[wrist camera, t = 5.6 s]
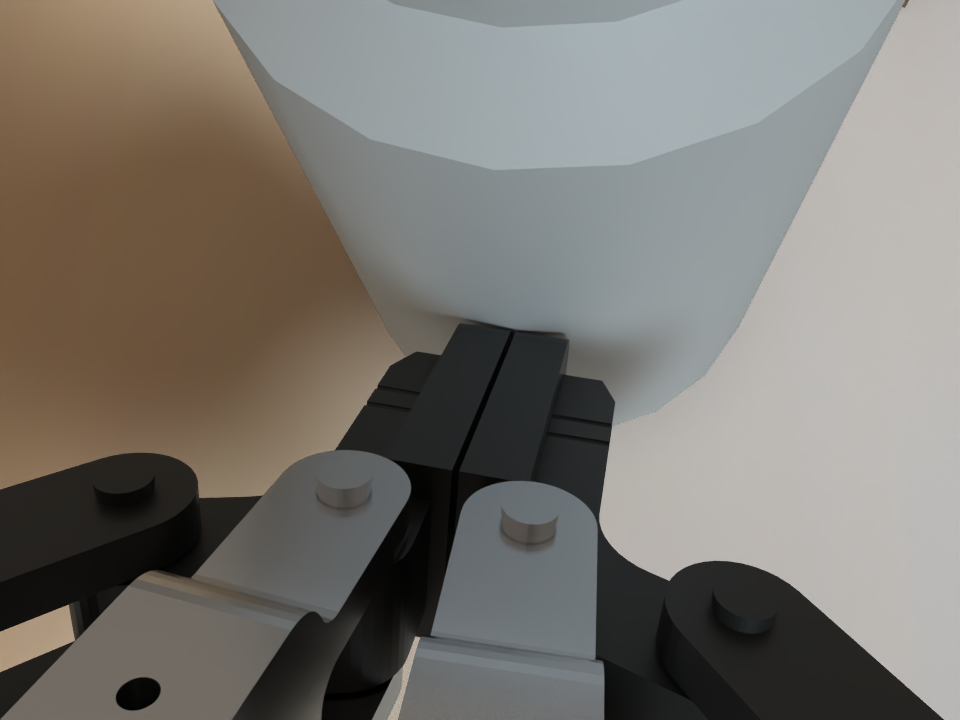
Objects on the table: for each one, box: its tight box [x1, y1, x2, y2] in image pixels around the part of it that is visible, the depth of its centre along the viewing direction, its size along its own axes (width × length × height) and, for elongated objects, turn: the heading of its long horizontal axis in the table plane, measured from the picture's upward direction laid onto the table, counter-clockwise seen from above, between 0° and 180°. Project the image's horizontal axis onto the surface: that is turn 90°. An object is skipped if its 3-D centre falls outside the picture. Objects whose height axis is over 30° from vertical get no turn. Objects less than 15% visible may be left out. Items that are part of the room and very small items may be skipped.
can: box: [213, 0, 905, 426], centre depth 13 cm, size 8×8×12 cm
